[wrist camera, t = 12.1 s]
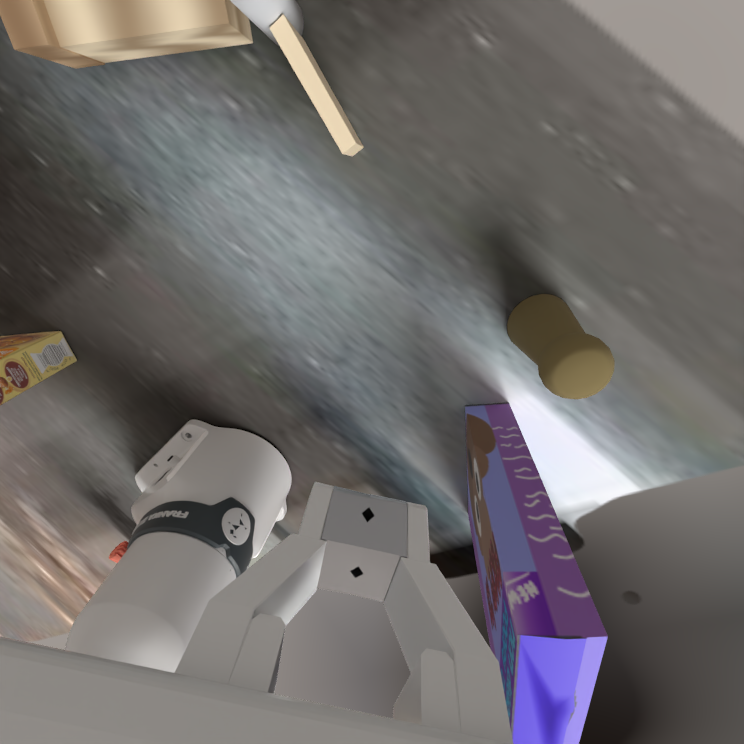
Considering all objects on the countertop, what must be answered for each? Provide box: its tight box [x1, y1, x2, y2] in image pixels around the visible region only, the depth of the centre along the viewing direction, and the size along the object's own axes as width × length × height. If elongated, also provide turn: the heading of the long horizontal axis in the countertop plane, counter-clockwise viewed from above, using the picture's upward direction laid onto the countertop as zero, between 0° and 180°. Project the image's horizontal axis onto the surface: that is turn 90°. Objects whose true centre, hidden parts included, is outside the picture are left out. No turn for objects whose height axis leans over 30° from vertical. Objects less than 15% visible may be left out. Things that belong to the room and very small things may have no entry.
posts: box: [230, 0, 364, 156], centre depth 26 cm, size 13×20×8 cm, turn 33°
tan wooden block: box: [0, 0, 253, 68], centre depth 26 cm, size 15×3×5 cm, turn 94°
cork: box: [507, 294, 614, 399], centre depth 32 cm, size 6×6×11 cm
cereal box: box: [465, 403, 608, 744], centre depth 35 cm, size 17×5×24 cm, turn 8°
